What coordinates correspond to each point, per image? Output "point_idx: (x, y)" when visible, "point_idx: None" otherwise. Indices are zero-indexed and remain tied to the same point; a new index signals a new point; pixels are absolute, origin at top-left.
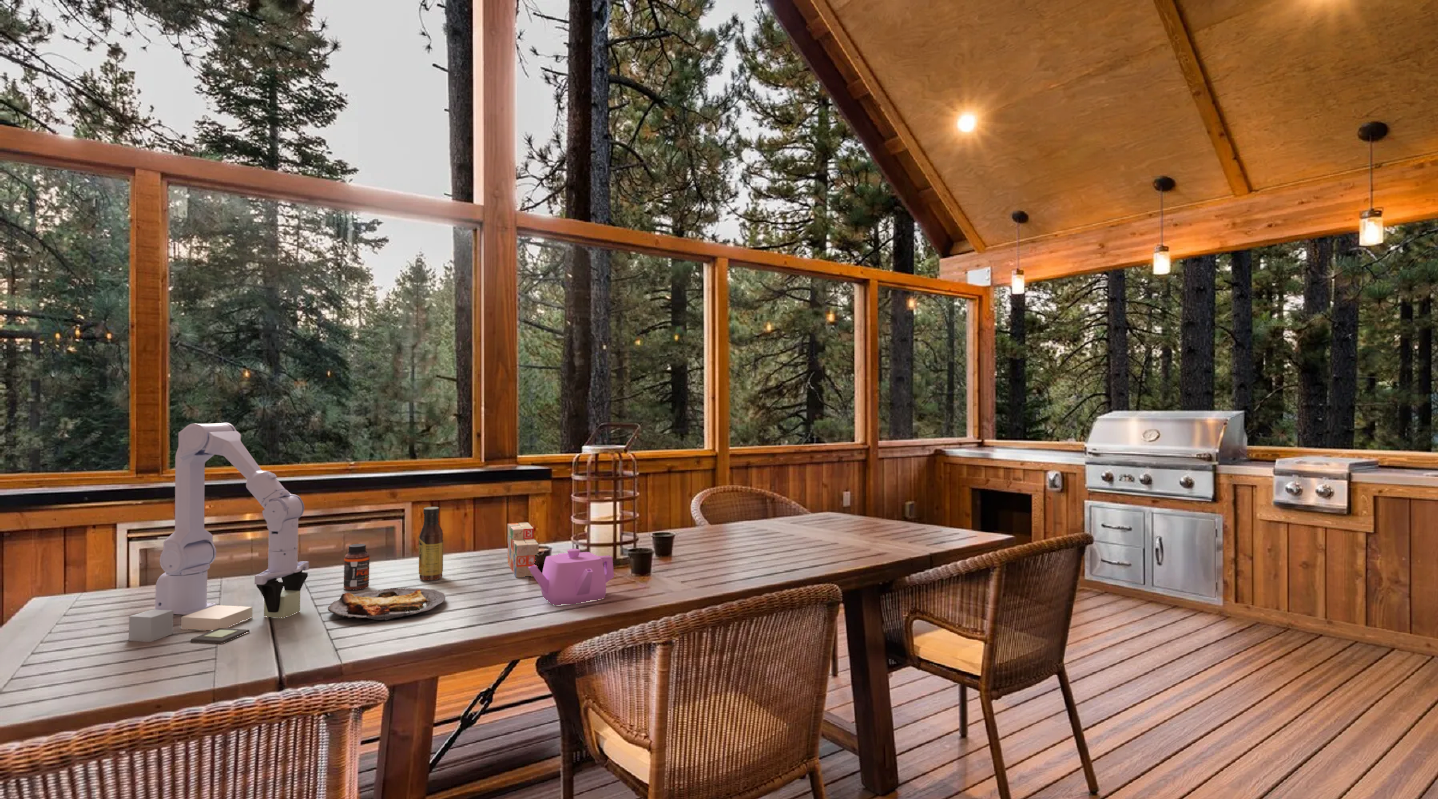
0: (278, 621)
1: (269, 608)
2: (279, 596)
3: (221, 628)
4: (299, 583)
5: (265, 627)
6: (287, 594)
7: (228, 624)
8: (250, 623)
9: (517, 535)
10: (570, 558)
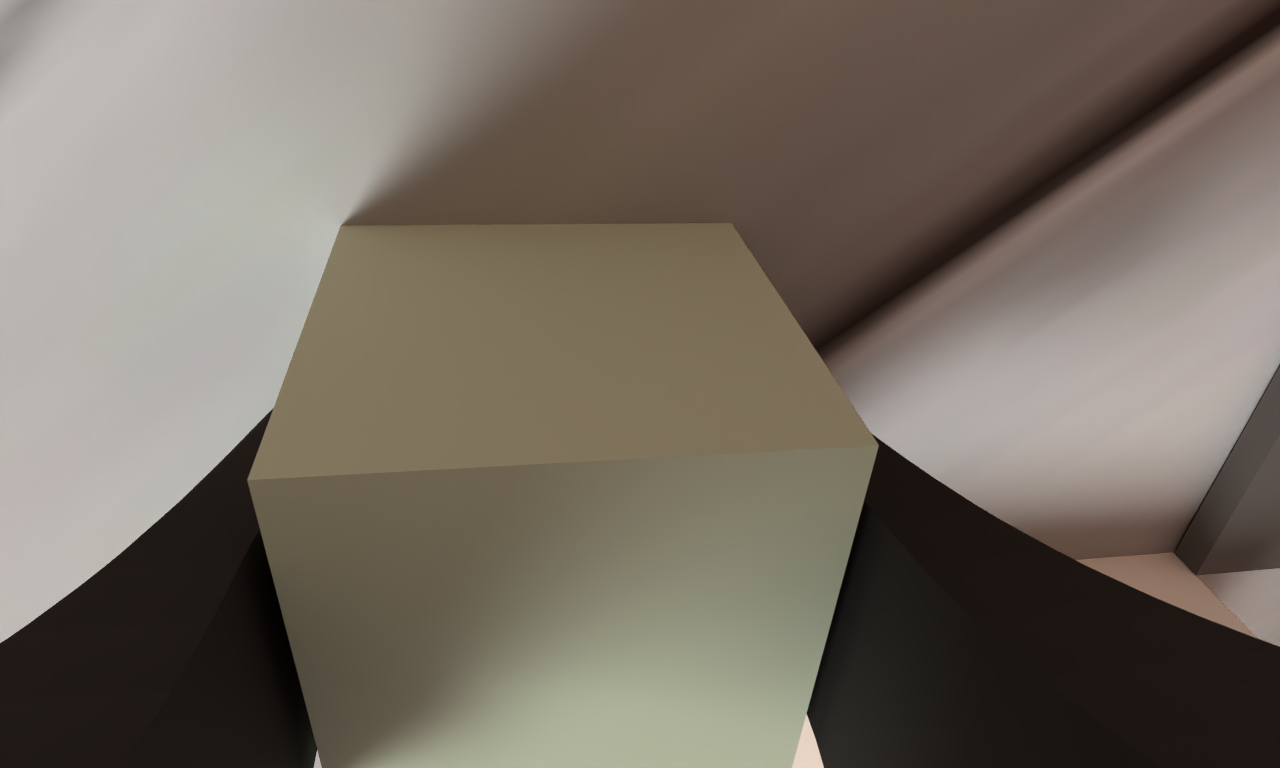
0: (885, 200)
1: None
2: (923, 524)
3: (1214, 551)
4: (156, 708)
5: (1167, 177)
6: (676, 514)
7: None
8: (941, 474)
9: None
10: None
